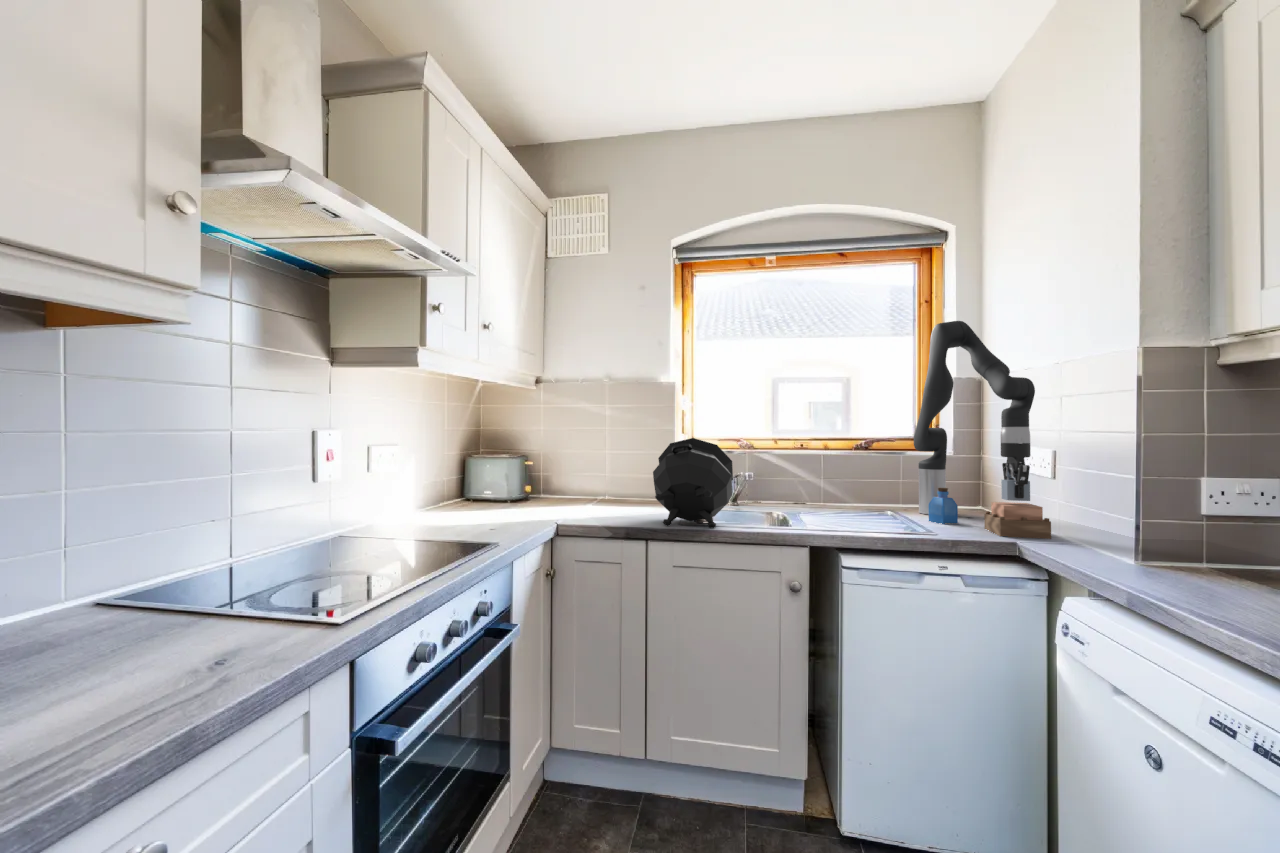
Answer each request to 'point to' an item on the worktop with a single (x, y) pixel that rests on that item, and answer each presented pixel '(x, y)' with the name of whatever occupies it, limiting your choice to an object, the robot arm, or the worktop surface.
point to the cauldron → (693, 480)
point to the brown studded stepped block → (1017, 520)
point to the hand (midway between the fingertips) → (1015, 496)
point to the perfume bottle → (943, 508)
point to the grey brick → (1009, 491)
